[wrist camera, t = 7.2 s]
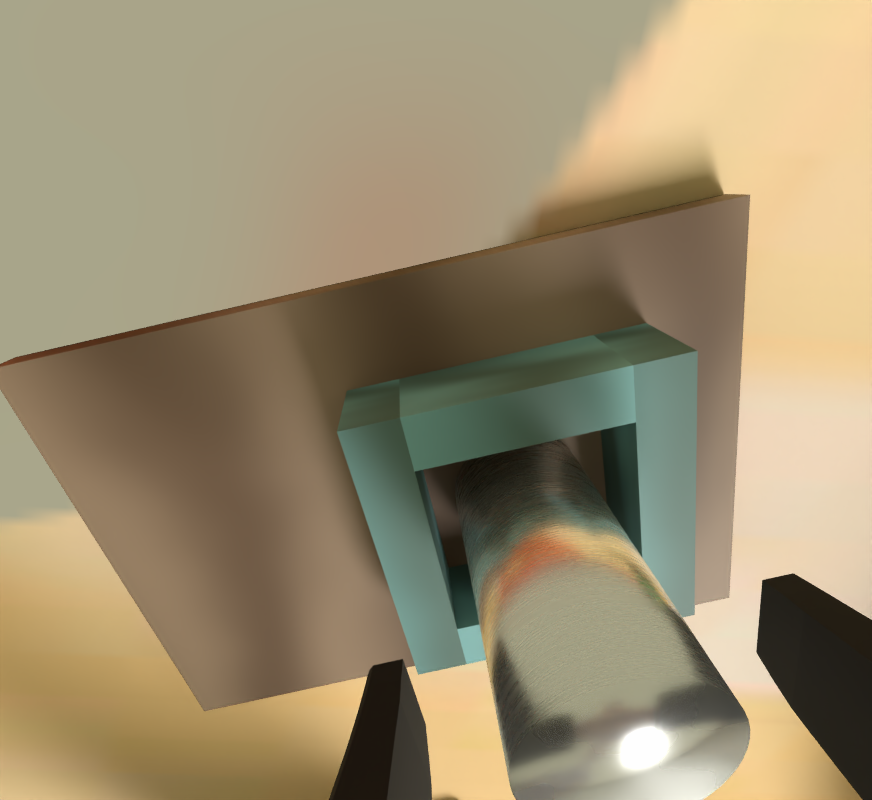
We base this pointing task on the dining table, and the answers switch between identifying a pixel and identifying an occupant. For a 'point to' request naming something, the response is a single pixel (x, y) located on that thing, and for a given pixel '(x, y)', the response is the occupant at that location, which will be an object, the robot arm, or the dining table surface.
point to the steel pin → (586, 643)
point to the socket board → (398, 441)
